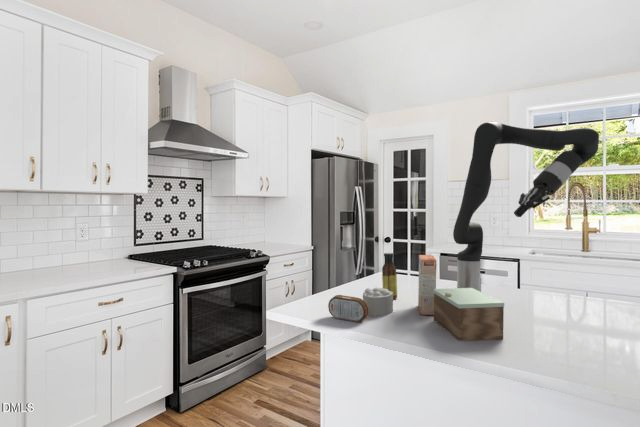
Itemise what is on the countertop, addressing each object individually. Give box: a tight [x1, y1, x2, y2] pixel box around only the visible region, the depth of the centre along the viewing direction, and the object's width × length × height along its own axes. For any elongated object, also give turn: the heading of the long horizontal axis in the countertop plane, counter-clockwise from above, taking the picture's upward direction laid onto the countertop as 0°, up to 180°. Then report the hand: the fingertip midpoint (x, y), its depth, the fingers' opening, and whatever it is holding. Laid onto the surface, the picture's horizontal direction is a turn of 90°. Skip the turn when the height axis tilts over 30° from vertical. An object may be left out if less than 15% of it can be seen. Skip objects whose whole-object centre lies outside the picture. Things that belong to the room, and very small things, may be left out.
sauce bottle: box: [381, 252, 398, 300], centre depth 168 cm, size 6×6×20 cm
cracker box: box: [417, 254, 437, 316], centre depth 149 cm, size 14×6×21 cm, turn 168°
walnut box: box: [433, 293, 505, 342], centre depth 127 cm, size 14×20×10 cm
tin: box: [327, 294, 368, 323], centre depth 138 cm, size 15×3×8 cm, turn 59°
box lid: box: [433, 287, 505, 308], centre depth 127 cm, size 14×21×2 cm
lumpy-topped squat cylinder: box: [362, 287, 394, 318], centre depth 148 cm, size 10×13×9 cm
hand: (516, 215), depth 127 cm, fingers closed
